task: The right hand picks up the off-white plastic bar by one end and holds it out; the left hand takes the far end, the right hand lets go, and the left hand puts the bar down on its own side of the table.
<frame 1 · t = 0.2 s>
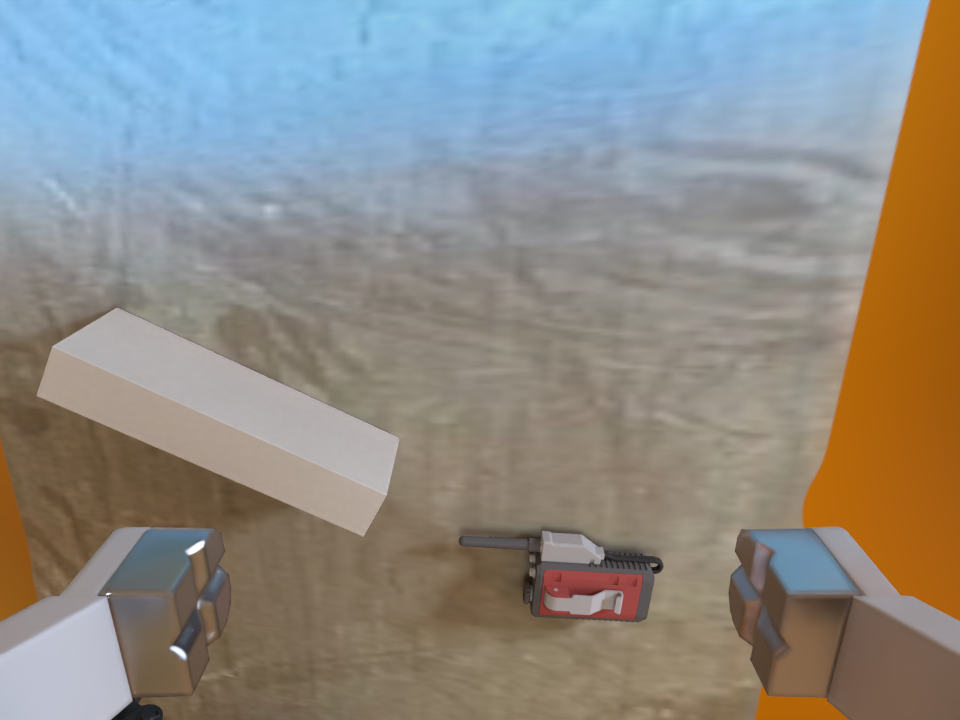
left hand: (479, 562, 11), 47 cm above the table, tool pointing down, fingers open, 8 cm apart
walkie-talkie: (557, 564, 68), on the table
bar: (254, 395, 62), on the table
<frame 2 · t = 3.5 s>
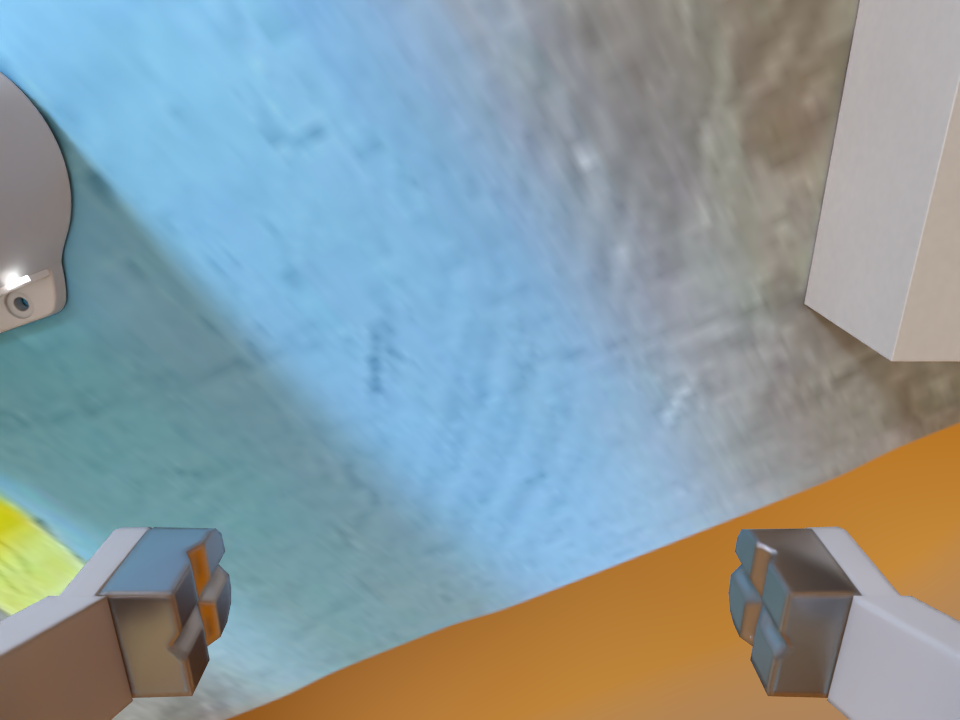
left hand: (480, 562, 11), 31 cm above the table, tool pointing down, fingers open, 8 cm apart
bar: (889, 66, 37), on the table, touching right hand
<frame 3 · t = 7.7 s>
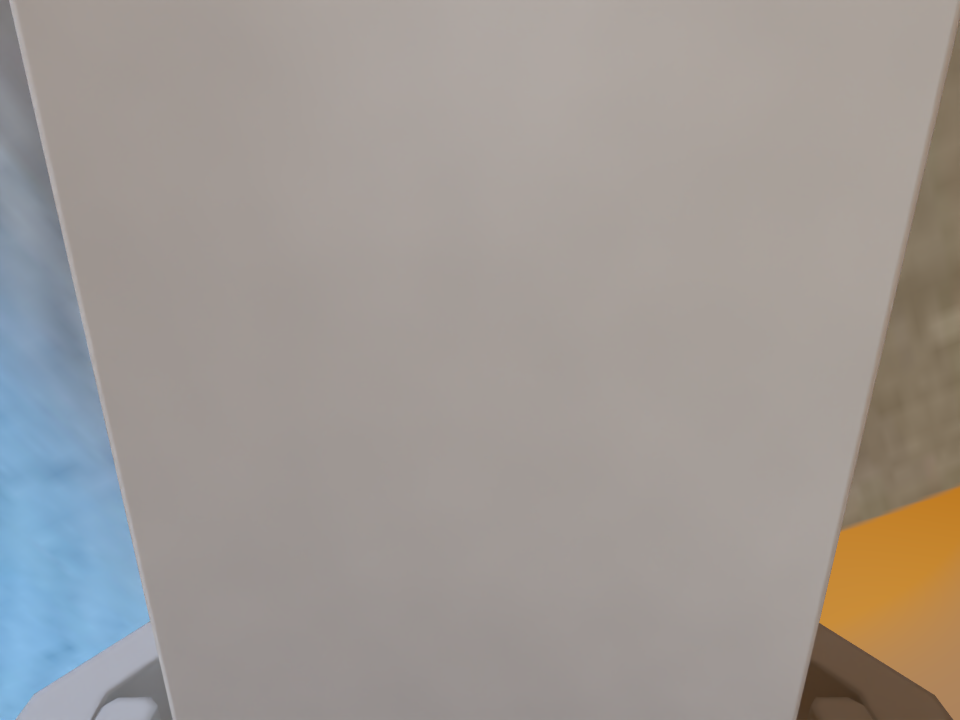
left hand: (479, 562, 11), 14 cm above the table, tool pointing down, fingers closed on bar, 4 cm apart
when the right hand's fingers open (10 cm above the table, at t = 8.6 s): bar stays where it is, held by the left hand.
when the left hand's fingers open (6 cm above the table, at t = 14.3 s): bar drops 1 cm, on the table.
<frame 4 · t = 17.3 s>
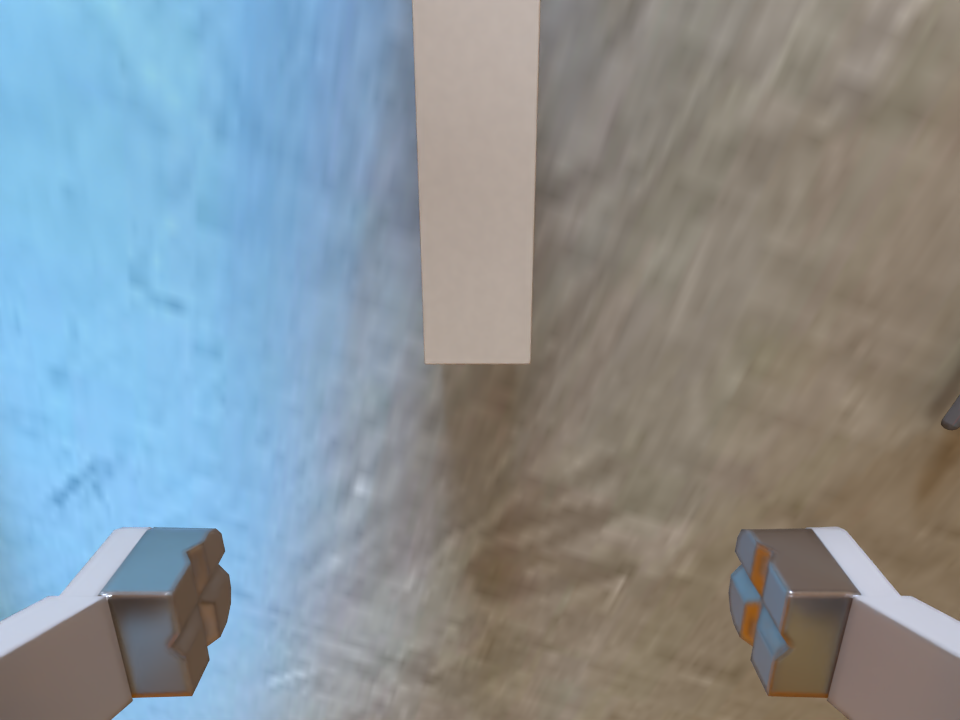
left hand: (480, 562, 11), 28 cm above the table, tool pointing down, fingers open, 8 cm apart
bar: (477, 32, 33), on the table
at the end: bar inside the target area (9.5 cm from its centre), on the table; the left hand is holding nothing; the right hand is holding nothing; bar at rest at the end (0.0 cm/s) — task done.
